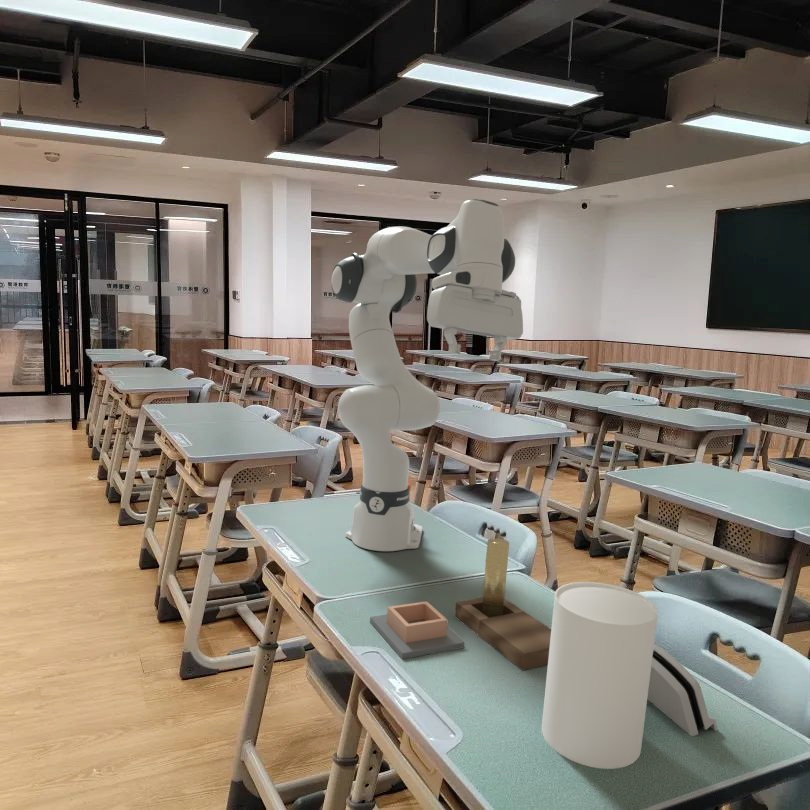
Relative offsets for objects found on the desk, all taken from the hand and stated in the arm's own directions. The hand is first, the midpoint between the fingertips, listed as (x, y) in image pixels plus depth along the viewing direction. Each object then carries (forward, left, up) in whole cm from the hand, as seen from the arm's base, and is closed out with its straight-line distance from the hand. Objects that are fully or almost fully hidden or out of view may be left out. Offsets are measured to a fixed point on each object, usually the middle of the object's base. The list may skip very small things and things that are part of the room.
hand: (475, 357), depth 128 cm
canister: (+33, +27, -50) cm, 65 cm away
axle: (+4, +8, -49) cm, 50 cm away
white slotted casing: (+20, +37, -50) cm, 65 cm away
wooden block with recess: (+8, +12, -49) cm, 51 cm away
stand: (+14, -4, -49) cm, 52 cm away
